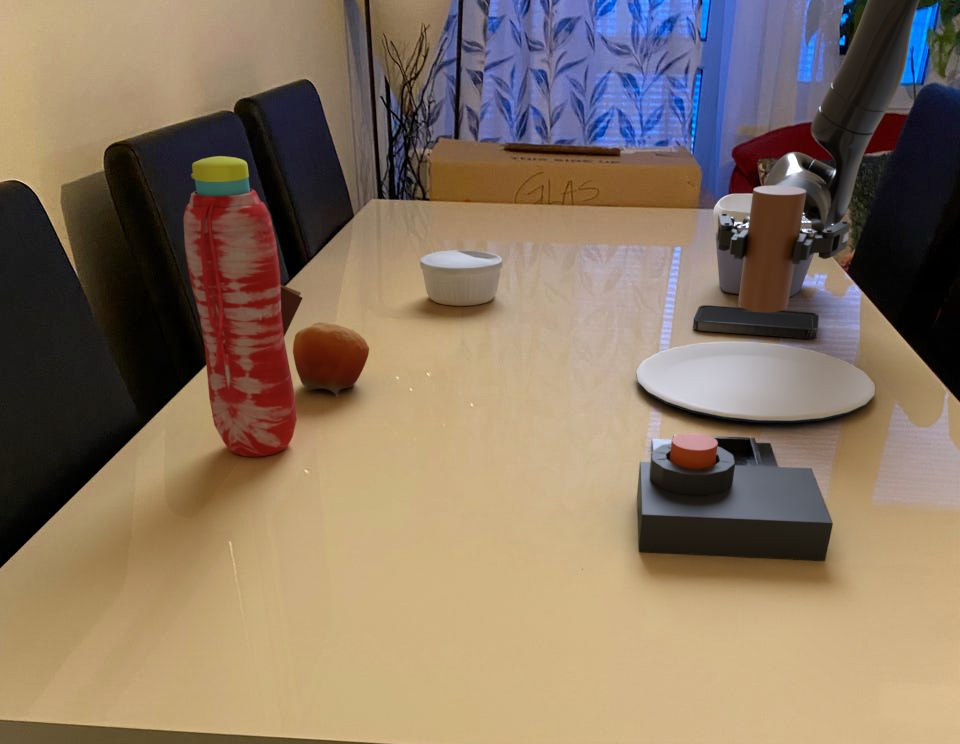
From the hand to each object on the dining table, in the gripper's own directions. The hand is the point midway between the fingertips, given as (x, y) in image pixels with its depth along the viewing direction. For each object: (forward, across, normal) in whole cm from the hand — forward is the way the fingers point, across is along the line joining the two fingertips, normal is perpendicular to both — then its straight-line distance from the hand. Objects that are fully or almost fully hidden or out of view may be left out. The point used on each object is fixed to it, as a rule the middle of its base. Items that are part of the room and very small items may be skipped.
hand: (768, 251), depth 97 cm
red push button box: (+31, +3, +14) cm, 35 cm away
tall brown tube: (-3, 0, +6) cm, 6 cm away
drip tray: (+21, 0, +14) cm, 25 cm away
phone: (-25, -3, +15) cm, 29 cm away
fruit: (+13, -42, +15) cm, 47 cm away
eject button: (+30, 0, +10) cm, 32 cm away
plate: (-3, 0, +15) cm, 15 cm away
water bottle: (+29, -41, +15) cm, 52 cm away
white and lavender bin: (-45, -5, +15) cm, 48 cm away
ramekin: (-25, -43, +15) cm, 52 cm away
